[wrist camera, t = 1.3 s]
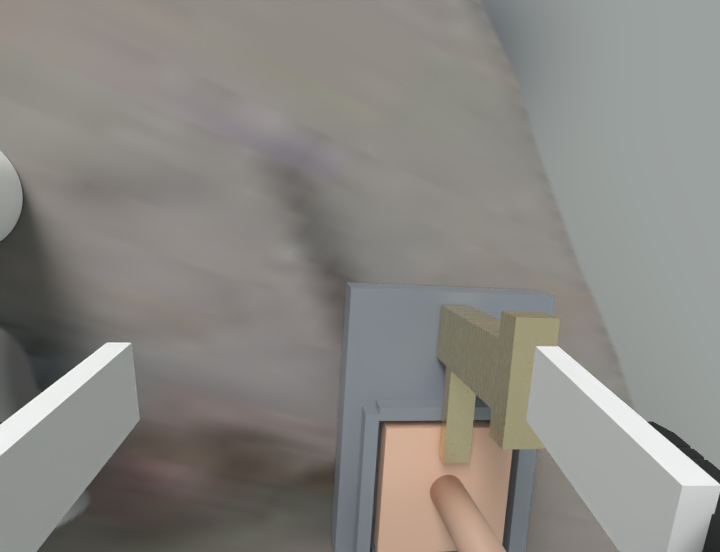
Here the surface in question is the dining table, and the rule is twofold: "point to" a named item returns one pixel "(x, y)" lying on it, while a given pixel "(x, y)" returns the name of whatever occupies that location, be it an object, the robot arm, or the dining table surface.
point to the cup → (9, 196)
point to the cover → (439, 491)
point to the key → (489, 375)
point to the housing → (407, 394)
